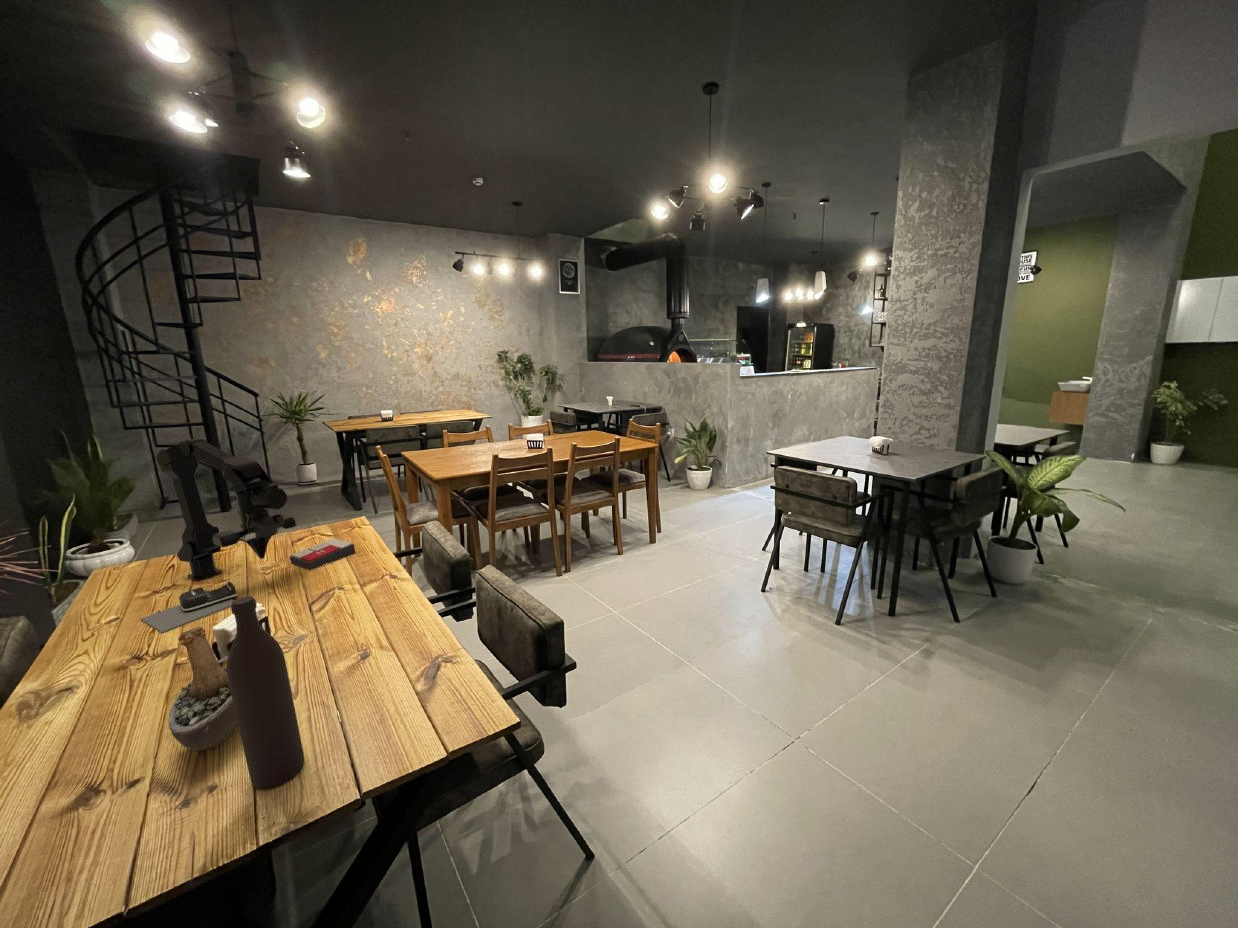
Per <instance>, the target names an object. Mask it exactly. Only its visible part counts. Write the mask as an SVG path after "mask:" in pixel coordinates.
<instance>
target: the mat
mask: <svg viewBox="0 0 1238 928" xmlns="http://www.w3.org/2000/svg"><path fill="white" fill-rule="evenodd" d="M234 600H235V599H230V600H227V601H224V602H221V603H218V604H214V605H211V606H208V607H205V608H202V609H199V610H195V611H192V612H184V611H183V610H182V608H181V606H180V604H177V605H175V606H172V607H168V608H167V609H164V610H161V611H158V612H155V613H153V614H149V615H147V616H145V617H141V618H140V621H141V622H143V623H144V624H146V625H148V626H149V627H151V628H153V629H154V630H156V631H157V632H159V633H161V634H164V633H167V632H170V631H172V630H175V629H177V628H180V627H182V626H185V625H188V624H190V623H193V622H195V621H198V620H201V619H203V618H206V617H208V616H211V615H214V614H216V613H219V612H222V611H224V610H227V609H228V608H231V605H232V602H233V601H234Z"/></svg>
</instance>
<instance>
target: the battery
mask: <svg viewBox="0 0 1238 928" xmlns="http://www.w3.org/2000/svg"><path fill="white" fill-rule="evenodd" d="M237 597H238V593H237V590H236V586H235V585H234V584H233V582H231V581H227V583H225V584H224V585H223V586H221V587H219V588H215V589H212V590H206V589H204V588H203V587H202V586H201V587H196V588H194V589H191V590H188V591H185V592H182V593H181V594H180V595H179V597H178V600H179V605H180V606H181V608H182V610H183V611H184V612H192V611H195V610H199V609H202V608H205V607H208V606H211V605H214V604H218V603H221V602H224V601H227V600H230V599H232V600H234V599H237Z"/></svg>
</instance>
